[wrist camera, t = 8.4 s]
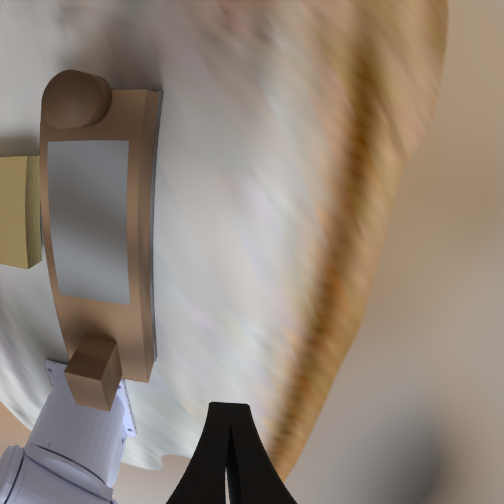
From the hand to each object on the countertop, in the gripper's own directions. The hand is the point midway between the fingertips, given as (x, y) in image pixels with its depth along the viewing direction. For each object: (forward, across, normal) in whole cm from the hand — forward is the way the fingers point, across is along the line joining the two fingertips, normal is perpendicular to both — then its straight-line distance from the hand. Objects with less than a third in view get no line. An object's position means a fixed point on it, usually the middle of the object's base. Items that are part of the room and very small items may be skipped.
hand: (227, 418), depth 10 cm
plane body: (+10, +8, -2) cm, 13 cm away
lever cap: (+8, +15, -4) cm, 18 cm away
